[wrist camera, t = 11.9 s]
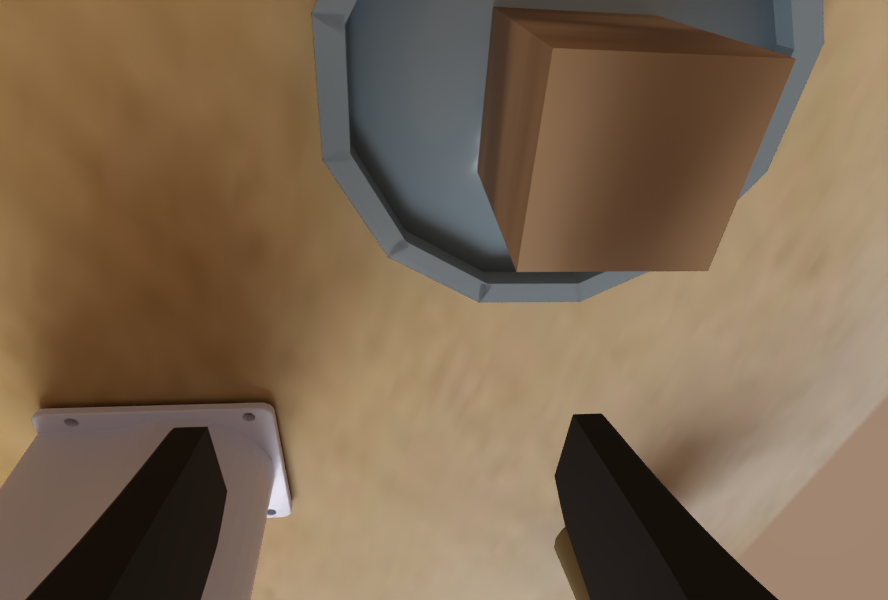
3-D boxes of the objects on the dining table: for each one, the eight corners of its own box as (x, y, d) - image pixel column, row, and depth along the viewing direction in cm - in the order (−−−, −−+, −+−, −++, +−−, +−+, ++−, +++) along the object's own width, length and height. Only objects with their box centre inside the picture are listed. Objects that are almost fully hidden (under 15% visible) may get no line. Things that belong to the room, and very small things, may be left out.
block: (477, 171, 16) (516, 272, 12) (492, 6, 14) (552, 47, 9) (614, 173, 17) (708, 271, 12) (655, 15, 14) (795, 58, 9)
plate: (336, 281, 19) (333, 303, 18) (296, -269, 11) (286, -293, 10) (692, 280, 21) (710, 301, 20) (887, -201, 13) (937, -213, 11)
